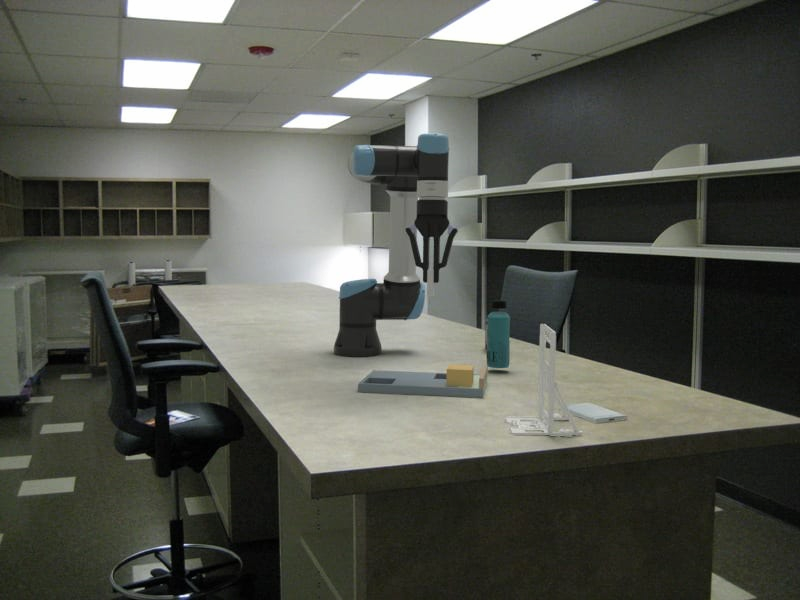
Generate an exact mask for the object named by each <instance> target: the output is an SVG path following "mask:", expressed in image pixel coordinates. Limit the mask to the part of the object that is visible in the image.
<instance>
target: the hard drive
mask: <svg viewBox="0 0 800 600" xmlns="http://www.w3.org/2000/svg"><path fill="white" fill-rule="evenodd" d="M566 405H567V407H568V409H569V411H570V413H571V414H573V415H572V416H574V415H576V416H575V417H577V416H578V418H579V417H581V418H580V419H582V418H583V420H585V419H586V420H585V421H587V420H588V421H587V422H590V421H592V422H591V423H593V422H594V423H593V424H602V423H601V422H605V423H609V422H608V421H613V422H616V421H615V420H621V419H627V420H628V415H625V414H622V413H620V412H616V411H614V410H611V409H607V408H606V407H603V406H600V405H596V404H593V403H591V402H581V403H572V404H566ZM562 406H563V405H562ZM563 408H564V407H563ZM558 409H559V411H560V408H558ZM564 410H565V409H564ZM565 412H566V411H565Z"/></svg>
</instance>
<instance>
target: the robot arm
mask: <svg viewBox="0 0 800 600" xmlns="http://www.w3.org/2000/svg"><path fill="white" fill-rule="evenodd" d="M449 143H450V141H449V137H448V135H447V134H444V133H434V132H433V133H421V134H419V135H418V137H417V144H416V146H415V145H413V146H412V145H382V144H381V145H378V144H375V145H372V144H360V145H359V144H357V145H355V146H354V147H353V152H352V153H350V155H349V157H348V159H347V160H348V161H347V168H348V171H349V174H351V176H352V177H354V178H355V179H356V180H357V181H361V182H363V183H366V184H371V185H385V192H387V194H388V195H389V198H390V201H389V202H390V204H389V209H390V210H389V236H388V237H389V238H388V239H389V241H388V242H389V245H388V272H387V273H386V274H385V275H384V276H383V281H382V282H379V283H378V281H377V279H376V278H362V279H356V280H355V279H354V280H350V281H345V282H342V283H341V285H340V286H339V296H338V300H339V324H338V325H339V328H338V333H337V335H336V339H335V342H334V344H333V354H335V355H338V356H343V357H372V356H378V355H380V354H382V349H383V348H382V343H381V340H380V337H379V334H378V331H377V320H378V321H380V320H381V321H383V320H384V321H386V320H387V321H388V320H389V321H390V320H391V321H397V320H399V321H401V320H402V321H407V320H416V319H419V318H420V317H421V315H422V313H423V310H424V306H425V299H426V297H427V298H428V297H430V298H433V297H435V284H437V283H439V282H440V269H443V268H445V267H447V266H448V261H449V258H450V253H451V250H452V246H453V242H454V239H455V236H457V234H458V232H459V230H458V228H456V227H454V226H453V225H451V224H450V221H449V218H448V215H449V214H448V210H449V209H448V207H449V206H448V205H449V202H448V201H447V200H446V199H447V198H448V197H449V157H450V156H449V154H450V153H449V152H450V145H449ZM446 231H447V234H448V236H447V239H446V243H445V247H444V250H443V254H442V259H441V257H440V250H441V246H440V245H441V237H442V236H443V234H444V233H445V232H446ZM418 233H419V234H420V235H421V236H422V243H423V245H422V258H421V254H420V251H419V250H420V248H419V245H418V239H417V238H418ZM430 238H433V263H432V264H433V267H432V268H431V269H430V240H431V239H430ZM440 261H441V262H440ZM417 267H418V268H419V269H420V268H421V269H422V282H423V283H422V282H421V277H420V276H419V275H418V274H417V273H416V272H417V271H416V270H417ZM424 283H426V284H427V285H426V286H425V284H424Z"/></svg>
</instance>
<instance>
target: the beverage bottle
mask: <svg viewBox="0 0 800 600" xmlns="http://www.w3.org/2000/svg"><path fill="white" fill-rule="evenodd" d="M491 309H507V301H506V300H504V299H503V300H502V299H495V300H494V299H493V300H491ZM487 319H488V329H487V352H486V365H488V368H490V369H491V368H492V369H508V368H509V366H510V354H511V353H510V351H511V349H510V343H511V341H510V329H511V327H510V323H511V321H510V320H511V316H510V315H509V314H508V313H507V312H505V311H491V312H490V313H489V314H488V315H487Z"/></svg>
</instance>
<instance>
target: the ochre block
mask: <svg viewBox="0 0 800 600" xmlns="http://www.w3.org/2000/svg"><path fill="white" fill-rule="evenodd" d="M474 371H475V366H474V365H465V364H461V365H460V364H449V365H447V368H446V373H447V382H446V386H466V387H472V384H473V381H474V373H475V372H474Z"/></svg>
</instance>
